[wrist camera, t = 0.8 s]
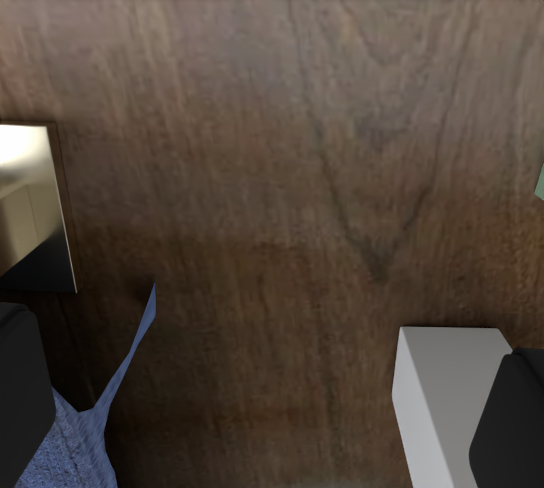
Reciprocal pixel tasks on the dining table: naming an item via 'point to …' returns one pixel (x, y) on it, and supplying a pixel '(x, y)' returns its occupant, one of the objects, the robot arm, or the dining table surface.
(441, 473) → the milk carton
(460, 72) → the dining table surface
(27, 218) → the metal lever base
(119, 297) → the dining table surface
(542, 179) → the green push button box
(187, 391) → the dining table surface
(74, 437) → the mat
